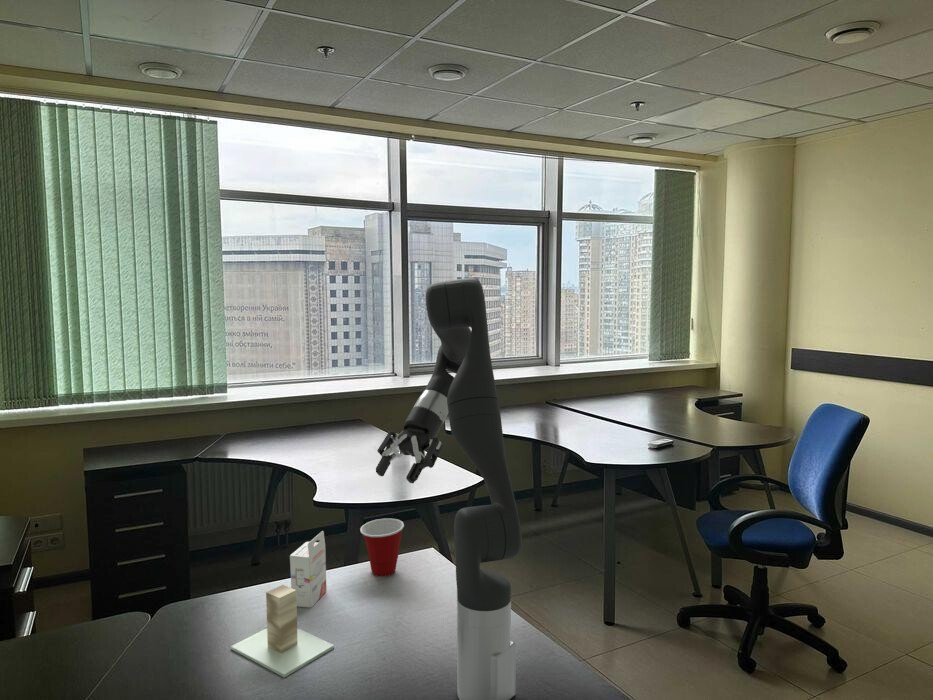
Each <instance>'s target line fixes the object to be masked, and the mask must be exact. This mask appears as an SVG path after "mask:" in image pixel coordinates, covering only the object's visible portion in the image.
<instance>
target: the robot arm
mask: <svg viewBox="0 0 933 700" xmlns="http://www.w3.org/2000/svg"><path fill="white" fill-rule="evenodd" d="M486 306H487V305H486V298H485V292H484V288H483V285H482V283H481V281H480V280H479V279H478V278H476V277H464V278H458V279H457V278H456V279H448V280H442V281H441V280H440V281H437V282H433V283H430V284H429V285H428V286H427V288H426V292H425V308H426V314H427V318H428V320H429V321H428V322H429V324H430V326H431V327H432V330H433V331H434V332H435V335H436V336H437V337H438V338H439V340H440V343H441V345H439V348H438V351H437V355H436V361H435V366H434V369H433V373H432V375H431V376H430V380H429V381H428V383H427V385H426V387H424V390H423V391H422V393H421V394H420V396H419V397H418V398H417V400H416V402H415V403H414V406H413V407H412V409H411V411H410V412H409V414H408V415H407V418H406V420H405V421H404V425H403V430H402V431H401V432H399V433H397V432H395V431H394V430H393V429H390V430H389V431H388V433H387V435H386V436H385V437H384V440H383V441H382V442H381V444H380V446H379V447H378V448H377V453H378V454H379V455H380V456H381V458H380V460H379V462H378V463H377V466H376V467H375V473H376V474H377V475H378V476H379V477H384V476H385V474H386V472H387V471H388V469H389V467H390V465H391V462H392V461H394V459H396V458H401V457H402V456H403V455H404V456H411V457H413V458H414V460H415V462H413V463H412V465H411V467H410V469H409V471H408V473H407V475H406V480H407V481H408V483H409V484H414V483H415V482H416V481H417V480H418V478H419V476H420V475H421V473H422V471H423V470H424V469H425V468H430V469H432V468H434V466H435V464H436V462H437V459H439V458H438V457H439V455H440V453H441V451H442V448H443V447H444V444H443V443H442V441H440V440H441V439H439V438H438V437H437V436H438V434H439V432H440V431H441V428H442V426H443V424H444V422H445V420H446V419H447V417H448V419H449V420H448V421H449V427H450V429H449V430H450V432H451V435H452V437H453V439H454V440H455V442H456V444H457V445H458V447H459V448H460V449H461V451H462V452H463V453H464V454H465V456H466V457H467V458H468V459H469V461H471V463H472V464H473V465H474V466H475V468H476V470H477V471H478V472H479V473H480V475H481V477H482V479H483V481H484V483H485V486H486V488H487V491H488V494H489V498H490V503H491V504H484V505H475V506H468V507H463V508H460V509H459V510H457V512H456V514H455V517H454V522H453V532H454V533H453V537H454V553H455V554H454V555H455V579H456V592H457V593H456V603H457V604H456V605H457V606H456V611H457V612H456V614H457V615H456V625H457V626H456V627H457V628H456V636H457V637H456V638H457V639H456V646H457V647H456V652H457V653H456V655H457V657H456V664H457V665H456V670H457V671H456V674H457V675H456V676H457V678H456V680H457V682H456V684H457V685H456V687H457V688H456V689H457V690H456V692H457V693H456V694H457V697H458V699H459V700H511V699H512V698H513V697H514V696H516V662H517V661H516V655H517V654H516V647H517V646H516V642H515V641H514V640H511V639H512V638H511V637H512V635H511V634H512V633H511V631H512V629H511V627H512V586H511V582H510V581H509V580H508V579H507V578H506V577H505V576H503V575H501V574H499V573H497V572H495V571H494V572H493V571H489V570H485V569H482V568H481V567H480V566H481V564H482V563H489V562H495V561H496V562H497V561H503V560H508V559H509V560H510V559H513V558H516V557H518V556H519V554H520V552H521V549H522V541H523V540H522V538H523V537H522V528H521V522H520V516H519V513H518V507H517V502H516V499H515V494H514V489H513V486H512V481H511V480H512V479H511V477H510V476H511V475H510V472H509V471H510V470H509V466H508V462H507V455H506V448H505V442H504V433H503V425H502V416H501V411H500V409H501V408H500V403H499V402H500V401H499V397H498V392H497V391H498V390H497V386H496V381H495V374H494V369H493V364H492V358H491V357H492V356H491V349H490V338H489V326H488V319H487V316H488V315H487V307H486ZM448 371H449V372H448ZM450 372H452V373H454V374H455V375H454V376H453V375H452V374H450ZM397 448H398V449H399V450H398V449H397ZM426 450H427V452H426Z"/></svg>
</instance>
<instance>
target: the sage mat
mask: <svg viewBox="0 0 933 700" xmlns="http://www.w3.org/2000/svg"><path fill="white" fill-rule="evenodd" d="M297 640H298V644H297V645H295V646H293V647H291V648H290V649H288V650H286V651H284V652H283V653H279V652H277V651H275V650H273V649H271V648H269V647H268V640H267V627H266V628H264V629H262V630H261V631H258V632H257V633H255V634H252V635H251V636H249V637H246V638H245V639H243V640H241V641H238V642H237V643H234V644H233V645H231V646H230V649H231V650H232V651H234V652H235V653H238V654H239V655H242V656H243V657H244V658H247V659H249V660H250V661H252V662H254V663H256V664H258V665H260V666H262V667H263V668H266V669H267V670H269V671H271V672H273V673H276V675H279V676H280V677H283V678H286V677H288V676H290V675H292V674H293V673H295V672H296V671H298V670H299V669H301V668H303V667H305V666H306V665H308V664H310V663H311V662H313V661H315V660H316V659H319V658H320V657H321V656H323V655H325V654H326V653H328V652H329V651H332V650H333V649H334V648H335V644H332V643H331V642H329V641H325V640H324V639H322V638H320V637H318V636H315V635H314V634H311V633H309V632H307V631H304V630H302V629H299V628H298V627H297Z"/></svg>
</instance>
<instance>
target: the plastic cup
mask: <svg viewBox="0 0 933 700" xmlns="http://www.w3.org/2000/svg"><path fill="white" fill-rule="evenodd" d="M404 527H405V524H404V521H402V520H400V519H397V518H379V519H374V520H371V521H367V522H366V523H365V524H363V525H362V526H360V528H359V530H360V533H361V534H362V536H363V538H364V541H365V545H366V551H367V556H368V560H369V564H370V569H371V574H372V575H373V576H376V577H381V578H382V577H389V576H392V575H394V573H395V571H396V569H397V564H398V559H399V552H400V551H399V550H400V543H401V538H402V533H403V529H404Z"/></svg>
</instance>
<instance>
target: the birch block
mask: <svg viewBox="0 0 933 700" xmlns="http://www.w3.org/2000/svg"><path fill="white" fill-rule="evenodd" d="M265 596H266V597H265V599H266V601H265V603H266V606H265V607H266V628H267V640H268V647H269V648H271V649H273V650H275V651H277V652H279V653H283V652H284V651H286V650H288V649H290V648H291V647H293V646H295V645H297V644H298V640H297V628H298V612H297V611H298V606H297V600H296V590H295V589H292V588H291V587H289V586H288V585H287V586H286V585H284V584H282V585H279V586H277V587H274V588H273V589H270V590H268V591H266V592H265Z"/></svg>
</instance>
